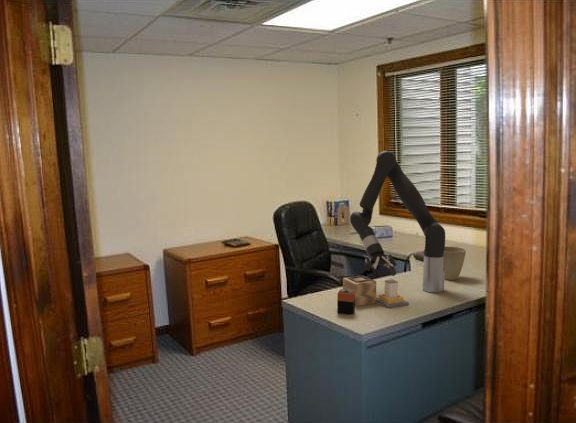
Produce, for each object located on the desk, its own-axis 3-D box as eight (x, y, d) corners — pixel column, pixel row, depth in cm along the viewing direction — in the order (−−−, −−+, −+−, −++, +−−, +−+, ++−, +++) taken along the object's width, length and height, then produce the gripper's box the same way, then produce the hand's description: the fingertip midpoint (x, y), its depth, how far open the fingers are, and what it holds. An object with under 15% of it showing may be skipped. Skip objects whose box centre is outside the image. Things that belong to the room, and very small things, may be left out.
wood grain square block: (363, 296, 231) (363, 274, 229) (375, 302, 221) (376, 280, 219) (342, 299, 226) (342, 276, 225) (354, 305, 216) (355, 282, 215)
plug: (392, 298, 223) (392, 279, 222) (397, 301, 219) (397, 281, 218) (384, 299, 221) (384, 280, 220) (389, 302, 217) (389, 282, 216)
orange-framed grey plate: (394, 298, 227) (394, 291, 227) (408, 304, 217) (408, 297, 217) (373, 300, 223) (374, 294, 223) (387, 308, 213) (387, 301, 213)
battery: (339, 310, 211) (339, 287, 210) (355, 311, 209) (355, 289, 207) (337, 313, 207) (337, 290, 205) (352, 315, 205) (353, 292, 203)
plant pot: (452, 273, 271) (454, 245, 268) (470, 280, 257) (472, 250, 255) (429, 276, 266) (430, 247, 264) (446, 283, 252) (448, 252, 250)
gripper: (363, 243, 226) (376, 273, 217) (388, 241, 232) (403, 270, 223) (357, 252, 232) (369, 282, 223) (382, 250, 237) (395, 278, 228)
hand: (386, 276), depth 223 cm, fingers open, 8 cm apart
